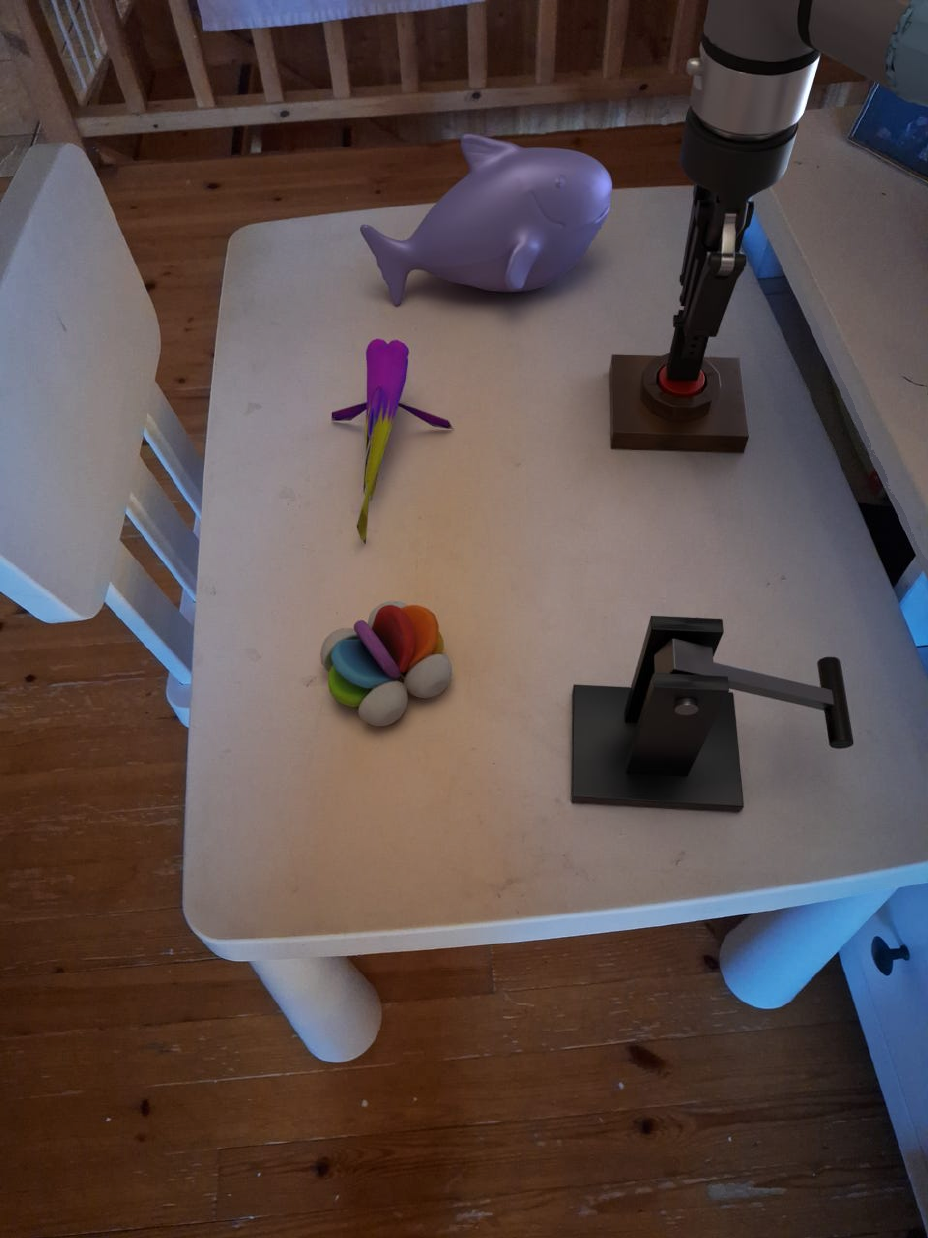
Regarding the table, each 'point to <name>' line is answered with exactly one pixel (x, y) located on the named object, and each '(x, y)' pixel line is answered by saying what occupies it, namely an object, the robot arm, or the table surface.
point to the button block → (676, 407)
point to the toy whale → (503, 220)
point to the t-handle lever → (768, 684)
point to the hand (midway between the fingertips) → (681, 374)
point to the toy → (382, 410)
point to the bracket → (659, 732)
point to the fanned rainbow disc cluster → (386, 661)
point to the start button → (680, 385)
